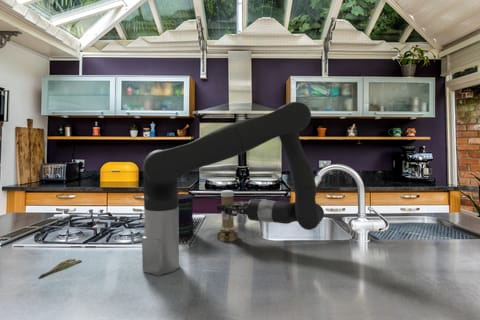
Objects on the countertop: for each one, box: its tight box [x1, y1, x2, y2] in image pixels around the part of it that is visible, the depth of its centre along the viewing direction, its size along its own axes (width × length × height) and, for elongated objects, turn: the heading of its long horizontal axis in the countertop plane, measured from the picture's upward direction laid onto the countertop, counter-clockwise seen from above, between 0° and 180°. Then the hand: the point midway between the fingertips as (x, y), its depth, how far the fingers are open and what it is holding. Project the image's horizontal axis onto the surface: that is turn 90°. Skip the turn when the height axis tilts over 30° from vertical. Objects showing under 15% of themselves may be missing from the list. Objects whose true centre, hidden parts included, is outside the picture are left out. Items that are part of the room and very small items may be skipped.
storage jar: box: [178, 193, 195, 240], centre depth 115 cm, size 10×10×15 cm
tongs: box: [38, 258, 83, 280], centre depth 85 cm, size 4×13×2 cm, turn 169°
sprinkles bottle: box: [220, 189, 235, 229], centre depth 111 cm, size 5×5×13 cm
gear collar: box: [216, 228, 238, 242], centre depth 112 cm, size 7×7×2 cm
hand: (221, 206), depth 113 cm, fingers closed on sprinkles bottle, 4 cm apart
